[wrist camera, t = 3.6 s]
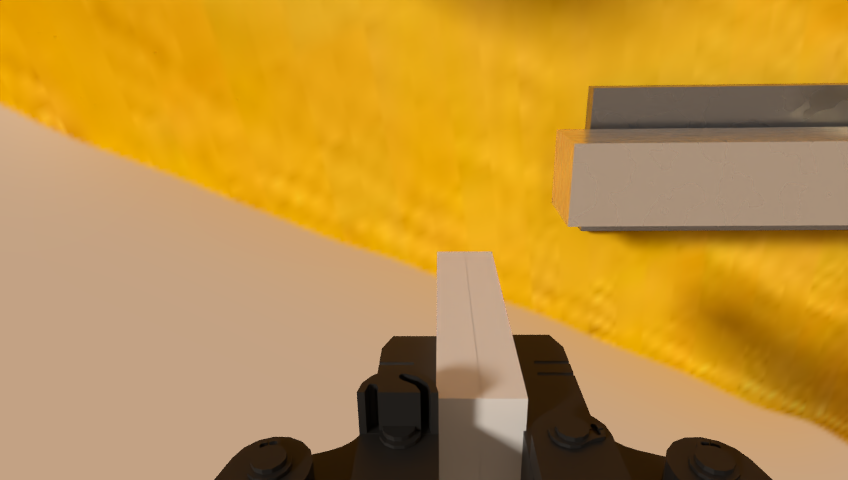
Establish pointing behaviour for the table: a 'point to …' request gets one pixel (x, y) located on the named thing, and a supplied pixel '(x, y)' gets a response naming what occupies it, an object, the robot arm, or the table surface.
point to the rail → (717, 118)
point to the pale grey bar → (702, 176)
